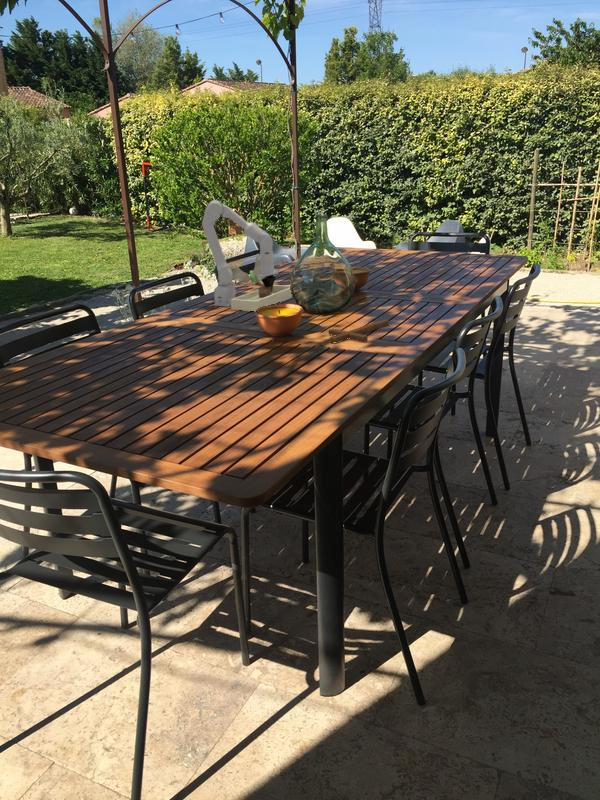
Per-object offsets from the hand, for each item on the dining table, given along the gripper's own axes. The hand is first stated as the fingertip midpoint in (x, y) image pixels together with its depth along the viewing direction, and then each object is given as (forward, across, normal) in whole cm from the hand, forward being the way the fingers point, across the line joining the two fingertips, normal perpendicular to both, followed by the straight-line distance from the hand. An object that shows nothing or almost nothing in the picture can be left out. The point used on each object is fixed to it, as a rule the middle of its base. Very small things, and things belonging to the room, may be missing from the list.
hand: (269, 292), depth 286 cm
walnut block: (+1, -3, 0) cm, 4 cm away
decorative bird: (+4, +29, +30) cm, 42 cm away
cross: (+4, -35, -61) cm, 71 cm away
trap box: (+3, -4, 0) cm, 5 cm away
